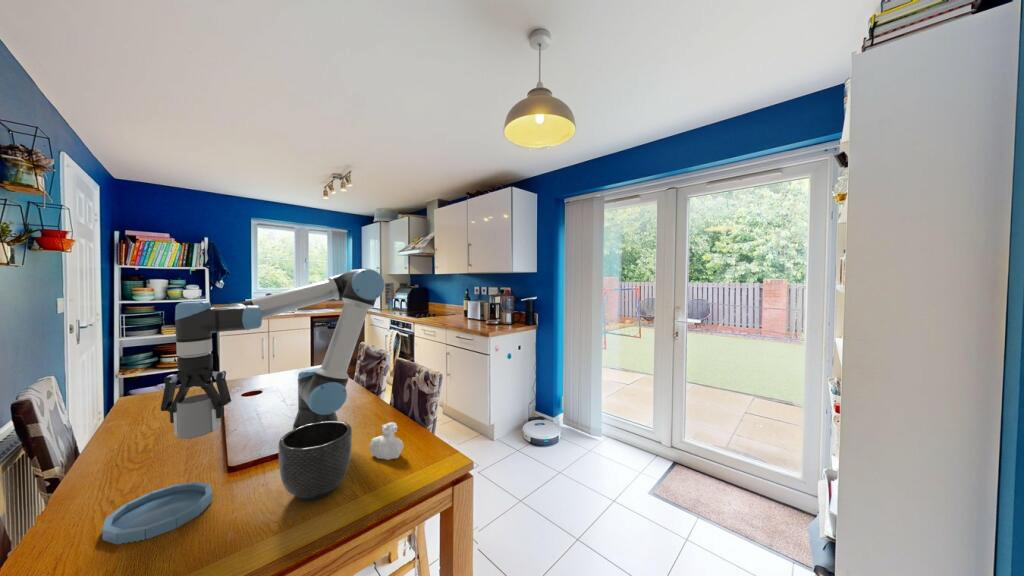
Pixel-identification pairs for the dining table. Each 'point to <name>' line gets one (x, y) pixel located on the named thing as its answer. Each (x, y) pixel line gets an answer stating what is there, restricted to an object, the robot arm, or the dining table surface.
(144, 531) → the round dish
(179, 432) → the cup
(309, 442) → the planter
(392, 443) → the duck figurine
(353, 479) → the dining table surface
